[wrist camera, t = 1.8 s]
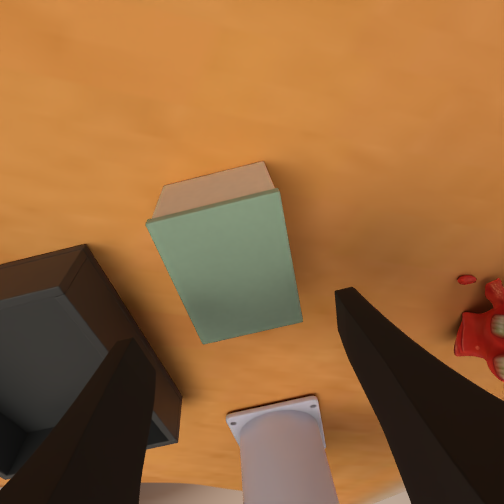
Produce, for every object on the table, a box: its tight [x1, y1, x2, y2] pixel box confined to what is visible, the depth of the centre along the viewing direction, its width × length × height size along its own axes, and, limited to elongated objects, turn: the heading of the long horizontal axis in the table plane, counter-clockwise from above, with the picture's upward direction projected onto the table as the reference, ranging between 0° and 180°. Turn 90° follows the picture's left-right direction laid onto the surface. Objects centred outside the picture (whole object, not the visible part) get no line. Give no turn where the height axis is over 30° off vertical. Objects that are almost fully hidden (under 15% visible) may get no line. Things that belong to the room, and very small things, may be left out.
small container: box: [146, 161, 303, 344], centre depth 15 cm, size 7×5×4 cm
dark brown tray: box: [0, 244, 182, 480], centre depth 19 cm, size 15×13×4 cm
